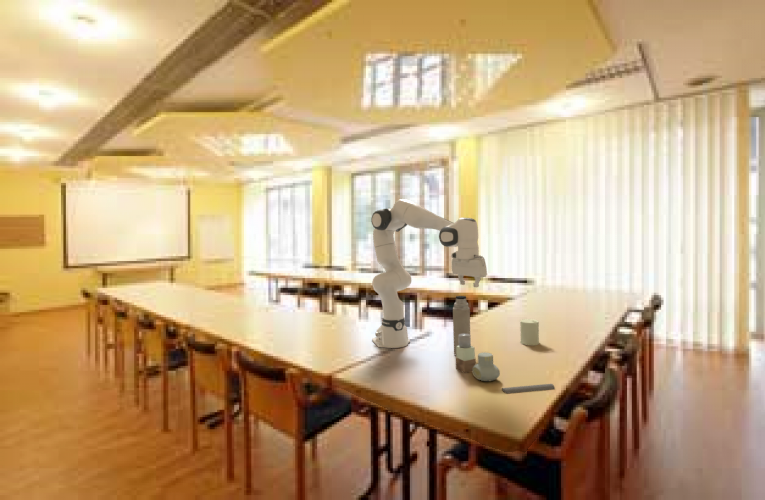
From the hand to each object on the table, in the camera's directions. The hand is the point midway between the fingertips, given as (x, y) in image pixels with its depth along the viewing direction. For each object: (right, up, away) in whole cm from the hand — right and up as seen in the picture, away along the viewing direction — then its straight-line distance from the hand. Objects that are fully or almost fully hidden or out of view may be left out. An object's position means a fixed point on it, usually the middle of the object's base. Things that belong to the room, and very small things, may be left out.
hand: (469, 285), depth 181 cm
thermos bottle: (0, -35, +17) cm, 38 cm away
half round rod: (+16, -37, -28) cm, 49 cm away
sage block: (-3, -31, -5) cm, 31 cm away
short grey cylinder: (-3, -26, -5) cm, 26 cm away
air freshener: (+3, -36, -16) cm, 40 cm away
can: (+38, -32, +31) cm, 59 cm away
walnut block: (-2, -36, -4) cm, 36 cm away
